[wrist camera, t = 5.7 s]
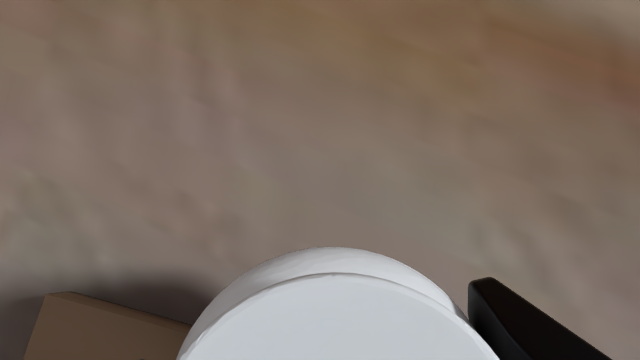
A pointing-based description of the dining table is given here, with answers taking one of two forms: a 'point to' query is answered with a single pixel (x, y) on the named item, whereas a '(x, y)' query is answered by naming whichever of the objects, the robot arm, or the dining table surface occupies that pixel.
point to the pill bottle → (333, 313)
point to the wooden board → (101, 331)
